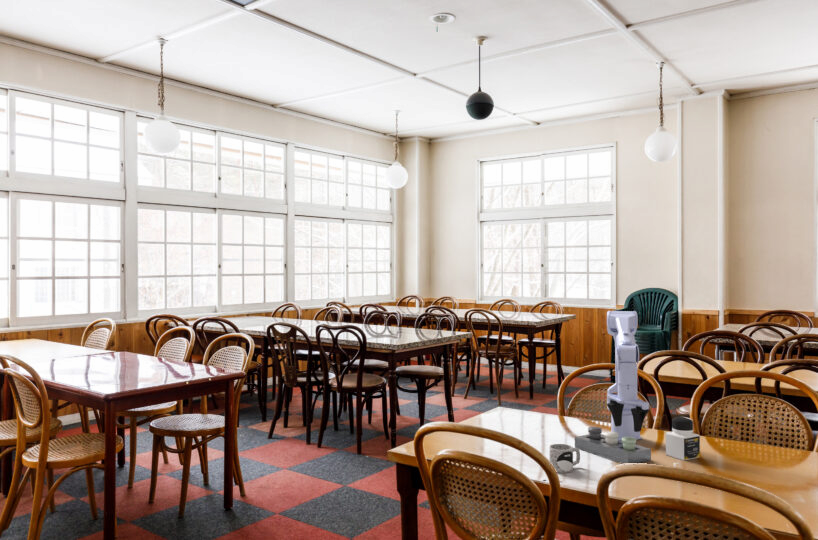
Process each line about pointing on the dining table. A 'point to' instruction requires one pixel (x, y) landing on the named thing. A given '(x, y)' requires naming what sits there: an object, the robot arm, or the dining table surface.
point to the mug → (563, 457)
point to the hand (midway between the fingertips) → (627, 428)
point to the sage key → (629, 443)
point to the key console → (613, 450)
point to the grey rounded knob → (595, 433)
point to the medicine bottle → (682, 440)
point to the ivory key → (611, 438)
